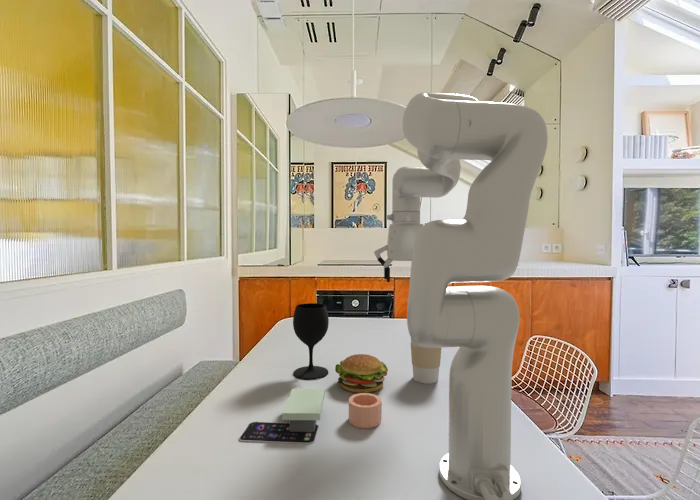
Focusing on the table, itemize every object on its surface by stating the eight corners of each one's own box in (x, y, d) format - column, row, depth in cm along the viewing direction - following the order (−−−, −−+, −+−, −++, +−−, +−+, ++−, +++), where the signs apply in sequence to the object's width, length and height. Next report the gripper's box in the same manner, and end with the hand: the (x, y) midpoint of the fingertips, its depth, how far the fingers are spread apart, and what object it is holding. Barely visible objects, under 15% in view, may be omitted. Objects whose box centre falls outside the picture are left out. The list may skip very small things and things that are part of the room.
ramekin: (382, 428, 75) (382, 407, 75) (348, 428, 75) (348, 407, 75) (379, 412, 82) (380, 393, 82) (349, 412, 82) (349, 393, 82)
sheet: (319, 420, 72) (319, 413, 72) (282, 420, 72) (282, 413, 72) (324, 394, 84) (324, 388, 84) (292, 394, 84) (292, 388, 84)
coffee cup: (442, 386, 97) (443, 330, 97) (408, 383, 99) (409, 329, 98) (441, 374, 106) (441, 323, 105) (410, 372, 108) (410, 321, 107)
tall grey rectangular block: (314, 432, 73) (314, 417, 73) (289, 432, 73) (289, 417, 73) (318, 409, 83) (318, 396, 83) (297, 409, 83) (297, 396, 83)
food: (396, 381, 100) (397, 353, 100) (370, 400, 89) (371, 368, 88) (355, 371, 108) (355, 345, 108) (326, 387, 96) (326, 357, 96)
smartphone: (314, 443, 69) (237, 440, 70) (314, 446, 69) (237, 443, 70) (319, 423, 77) (250, 421, 78) (319, 426, 77) (250, 424, 78)
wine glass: (285, 375, 104) (285, 307, 104) (306, 365, 114) (306, 301, 113) (316, 382, 99) (316, 310, 99) (335, 370, 109) (335, 304, 108)
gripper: (374, 218, 95) (374, 283, 95) (441, 218, 94) (440, 283, 94) (373, 220, 102) (373, 280, 103) (435, 220, 102) (434, 280, 102)
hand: (405, 281), depth 99 cm, fingers open, 9 cm apart
